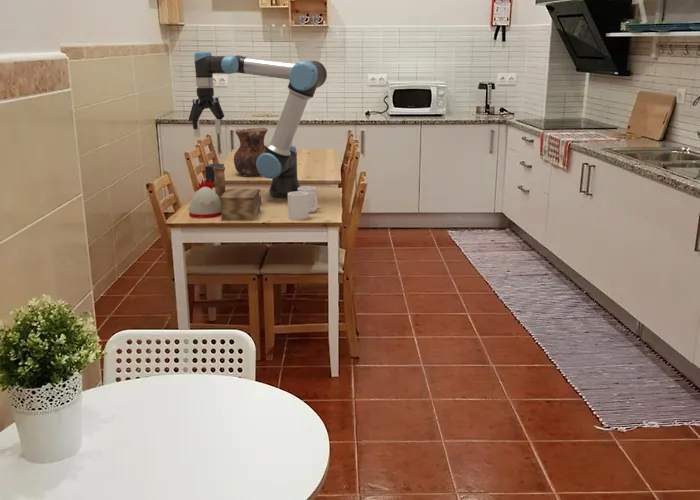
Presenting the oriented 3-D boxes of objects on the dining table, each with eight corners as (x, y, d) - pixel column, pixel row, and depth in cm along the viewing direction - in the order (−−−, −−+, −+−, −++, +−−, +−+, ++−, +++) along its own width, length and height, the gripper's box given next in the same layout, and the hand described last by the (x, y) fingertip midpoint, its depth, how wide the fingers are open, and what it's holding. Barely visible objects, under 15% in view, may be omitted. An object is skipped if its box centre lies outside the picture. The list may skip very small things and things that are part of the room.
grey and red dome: (225, 216, 286) (223, 180, 282) (191, 219, 281) (189, 183, 277) (220, 209, 298) (218, 175, 294) (187, 212, 294) (184, 177, 290)
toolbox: (265, 202, 311) (264, 182, 309) (254, 219, 279) (253, 197, 277) (235, 202, 311) (234, 182, 309) (220, 220, 279) (219, 197, 277)
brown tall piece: (228, 201, 314) (226, 166, 310) (225, 204, 309) (223, 168, 305) (216, 201, 314) (214, 166, 310) (214, 204, 309) (212, 168, 305)
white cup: (301, 214, 289) (301, 190, 286) (295, 210, 296) (294, 187, 293) (319, 212, 292) (319, 188, 289) (312, 208, 299) (312, 185, 296)
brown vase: (226, 174, 384) (224, 128, 377) (258, 170, 397) (255, 125, 390) (250, 179, 368) (247, 132, 361) (281, 174, 382) (279, 128, 375)
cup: (319, 218, 280) (318, 194, 278) (289, 220, 278) (288, 195, 275) (316, 214, 288) (315, 190, 285) (287, 215, 286) (286, 191, 283)
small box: (218, 187, 347) (216, 166, 345) (205, 187, 349) (204, 166, 346) (225, 183, 357) (224, 163, 354) (213, 183, 359) (212, 163, 356)
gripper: (218, 85, 323) (221, 131, 329) (178, 88, 303) (182, 137, 309) (230, 86, 319) (232, 132, 325) (190, 88, 299) (194, 138, 305)
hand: (208, 135), depth 317 cm, fingers open, 13 cm apart
